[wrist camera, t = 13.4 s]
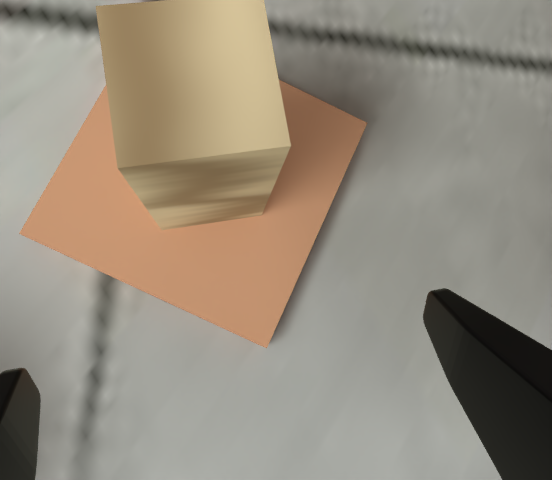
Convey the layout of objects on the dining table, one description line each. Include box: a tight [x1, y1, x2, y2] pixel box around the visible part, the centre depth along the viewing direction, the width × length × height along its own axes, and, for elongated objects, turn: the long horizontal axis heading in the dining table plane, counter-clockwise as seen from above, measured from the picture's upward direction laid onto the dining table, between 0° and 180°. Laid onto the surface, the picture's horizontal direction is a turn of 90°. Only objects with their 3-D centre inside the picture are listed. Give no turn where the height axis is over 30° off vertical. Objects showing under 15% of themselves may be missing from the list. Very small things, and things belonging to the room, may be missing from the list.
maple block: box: [96, 0, 291, 230], centre depth 19 cm, size 5×5×10 cm
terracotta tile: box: [19, 80, 367, 348], centre depth 24 cm, size 13×13×1 cm
